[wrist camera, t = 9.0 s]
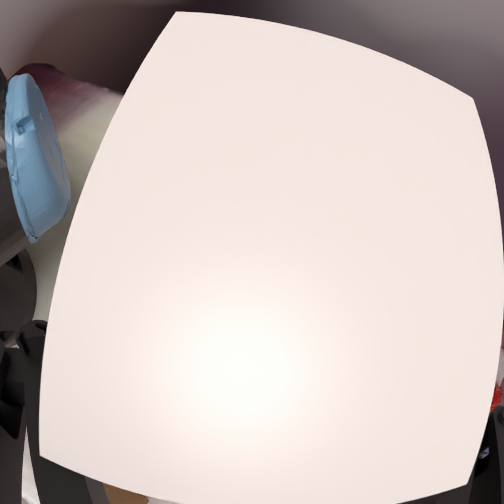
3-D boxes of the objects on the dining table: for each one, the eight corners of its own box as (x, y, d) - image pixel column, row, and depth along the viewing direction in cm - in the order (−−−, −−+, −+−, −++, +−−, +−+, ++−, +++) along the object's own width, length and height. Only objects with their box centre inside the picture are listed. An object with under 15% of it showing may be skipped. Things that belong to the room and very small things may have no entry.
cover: (152, 376, 16) (39, 454, 4) (194, 178, 19) (176, 11, 7) (327, 402, 16) (466, 484, 5) (352, 211, 19) (472, 98, 8)
